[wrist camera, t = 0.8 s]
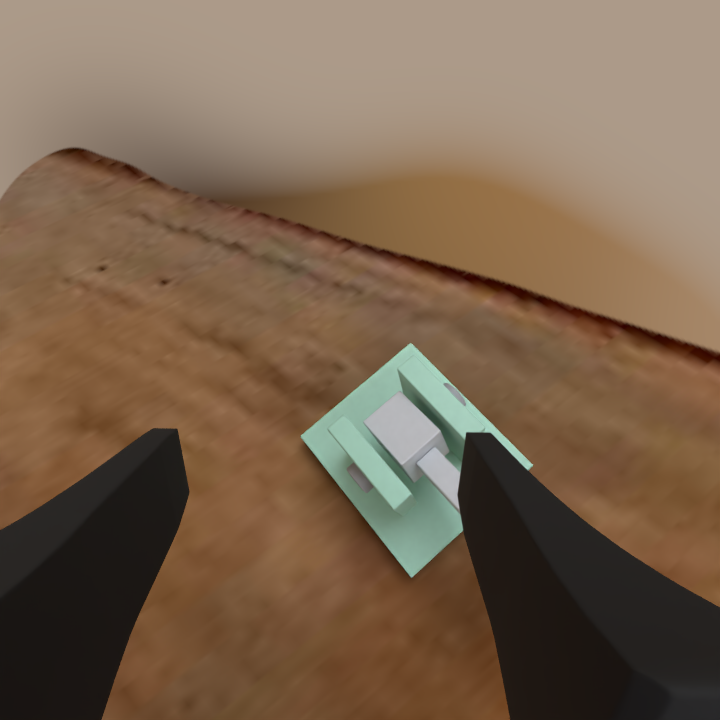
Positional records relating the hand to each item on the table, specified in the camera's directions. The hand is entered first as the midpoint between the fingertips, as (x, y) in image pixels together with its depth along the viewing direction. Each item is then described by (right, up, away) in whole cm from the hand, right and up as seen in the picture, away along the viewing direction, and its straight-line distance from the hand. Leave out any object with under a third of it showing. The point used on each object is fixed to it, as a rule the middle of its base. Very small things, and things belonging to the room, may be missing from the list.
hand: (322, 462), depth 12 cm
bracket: (+4, -2, +14) cm, 14 cm away
